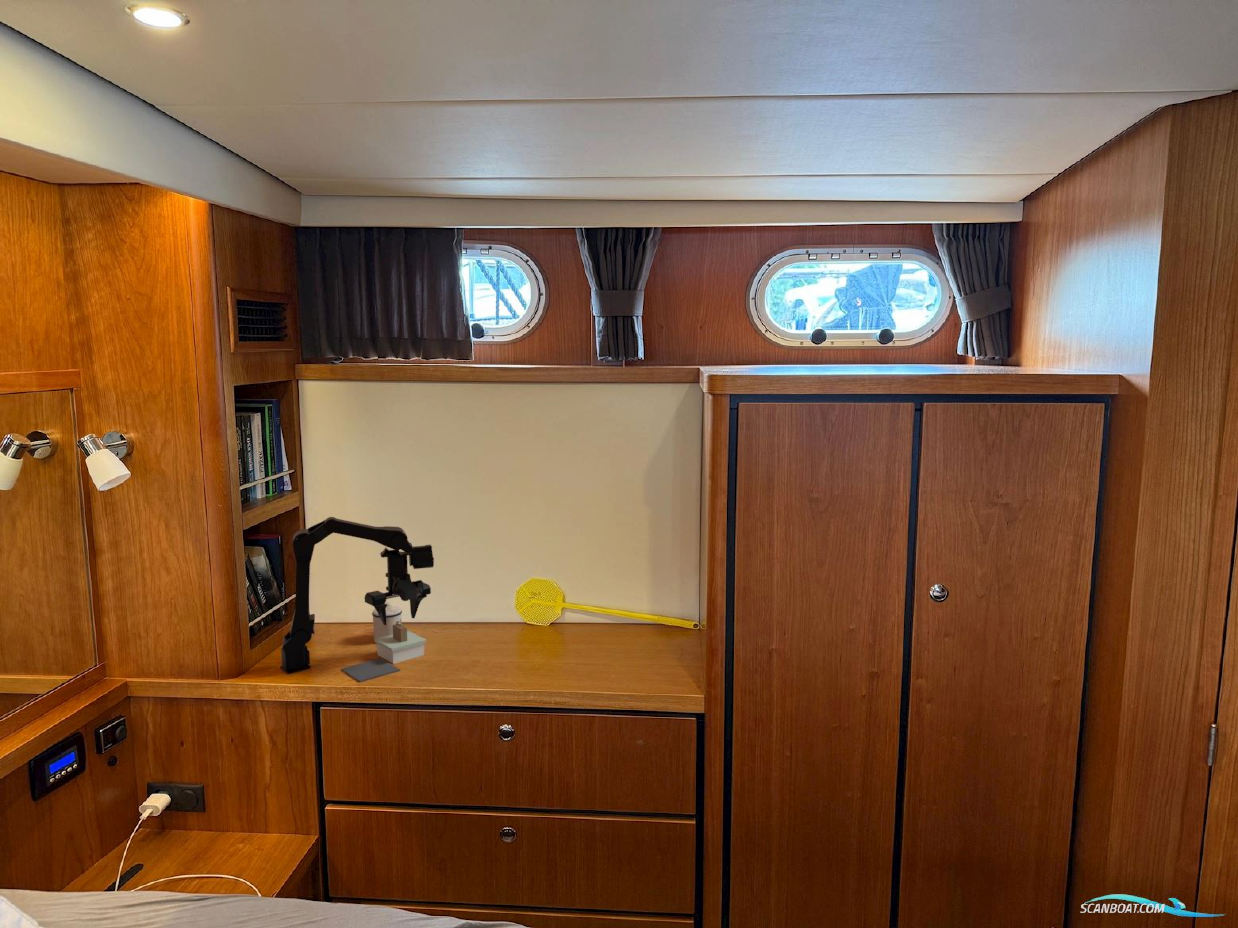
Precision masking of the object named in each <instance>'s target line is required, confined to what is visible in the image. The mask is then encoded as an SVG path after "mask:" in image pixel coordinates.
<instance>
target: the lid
mask: <svg viewBox="0 0 1238 928" xmlns="http://www.w3.org/2000/svg"><path fill="white" fill-rule="evenodd" d="M373 640H374V641H373V642H375V643H376V644H377V643H378V644H379V645H381V646H383V647H385V648H387V649H388V650H390V651H396V650H400V649H403V648H407V647H411V646H415V645H418V644H422V643H424V644H425V643H427V639H426V638H424V637H422V636H419V635H418V634H415V633H413V632H411V631H409V630H408V627H406V626H404V625H403V624H402V625H400V624H396V625H393V635H389V636H385V637H381V638H377V639H374V638H373Z"/></svg>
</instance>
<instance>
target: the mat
mask: <svg viewBox="0 0 1238 928" xmlns="http://www.w3.org/2000/svg"><path fill="white" fill-rule="evenodd" d="M340 671H342V672H344V673H345V674H346V675H348V676H349V677H351V678H353V679H354V680H356V681H358V682H359V683H363V682H365V681H369V680H373V679H376V678H379V677H383V676H386V675H390V674H393V673H396V672H401V669H400V668H398V666H395V665H393V663H391V662H389V661H387V660H386V659H384V658H382V657H379V658H374V659H372V660H371V659H370V660H367V661H363V662H359V663H357V664H353V665H349V666H345V667H342V668H340Z"/></svg>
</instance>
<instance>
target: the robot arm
mask: <svg viewBox="0 0 1238 928" xmlns="http://www.w3.org/2000/svg"><path fill="white" fill-rule="evenodd" d="M332 534H338V535H343V536H348V537H353V538H359V539H364V540H367V541H372V542H375V543H378V544H379V545H382V546H383V547H385V548H384V549H383V550H382V551H381V552H380V553H379V555H380V557H381V558H386V561H387V563H386V565H387V572H386V573H385V577H386V578H387V586H386V587H385V590H386V592H381V591H380V590H374V591H370V592H369V591H368V592H366V593H365V595H364V603H366V604H368V605H370V606H372V607H373V608H374V610H375V609H376V611H377V612H378V614H379V617H380V619H381V621H382V623H383V625H386V607H387V604H385V602H387V600H388V599H393V598H398V597H399V598H400V599H401V600H402V601H403V602H406V601H407V602H408V601H409V606H410V616H411V619H415V618H416V615H417V612H418V609H419V607H420V604H421V602H422V601H423V600H424V599H425V598H427V597H428V596H427V595H431V593H432V589H431V585H430V584H429V583H425V582H424V581H422V579H418V580H415V581H412V579H411V573H409V571H408V570H409V569H408V563H409V567H412V568H413V569H414V570H416V569H417V570H419V569H430V568H434V566H435V565H434V564H435V558H434V554H433V546H432V544H426V545H419V546H418V545H415V546H413V545H412V542H410V541H409V540H408V536H407V533H406V532H405V530H404V529H403V528H401V527H400V526H387V525H386V526H374V525H369V524H364V523H359V522H355V521H350V520H346V519H342V518H341V519H339V518H336V517H334V516H329V517H327V518H326V519H324V520H322V521H321V522H317V523H315V524H314V525H312V526H310V527H308V528H301V529H298V530H297V531H296V532H295V533H294V534H293V538H292V546H293V553H294V554H293V555H294V558H295V564H296V569H295V570H296V571H295V572H296V573H295V574H296V575H295V597H294V598H295V601H294V602H295V604H294V608H295V609H294V613H293V614H292V615H293V616H292V620H291V624H290V629H289V631H288V632H287V633H286V634H285V635H284V636H283V638H282V648H281V649H280V651H281V652H280V653H281V665H280V666H279V668H280V670H282V671H283V672H285V673H286V674H289V675H291V674H293V673H297V672H301V671H306V670H308V669H309V670H310V669H311V668H312V667H311V665H310V664H311V660H310V659H311V657H310V650H309V649H308V645H307V644H308V643H309V642H310V641H311V639H312V637H313V635H315V621H316V620H315V619H316V617H315V613H312V614H310V609H309V608H310V607H309V603H310V601H309V600H310V578H311V576H310V575H311V573H310V572H311V571H310V570H311V562H312V558H313V555H314V554H313V553H314V550H315V545H316V544H319V543H320V542H322V541H323V540H324V539H326V538H327V537H329V536H330V535H332ZM389 548H390V549H389ZM400 550H401V551H400Z"/></svg>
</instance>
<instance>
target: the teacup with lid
mask: <svg viewBox="0 0 1238 928" xmlns="http://www.w3.org/2000/svg"><path fill="white" fill-rule="evenodd" d="M385 604H387V607H386V625H383V623H382V621H381V619H380V617H379V614H378V612H377V611H376V609H375V608H374V609H373V611H372V613H371V616H372V625H373V628H372V629H373V640H374V639H377V638H381V637H385V636H389V635H393V625H396V624H400V625H402V626H403V624H402V623H403V622H402V621H403V620H402V612H403V610H402V608H400V607H398V606H396V605H393V604H391V602H389V601H386V602H385Z"/></svg>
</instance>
